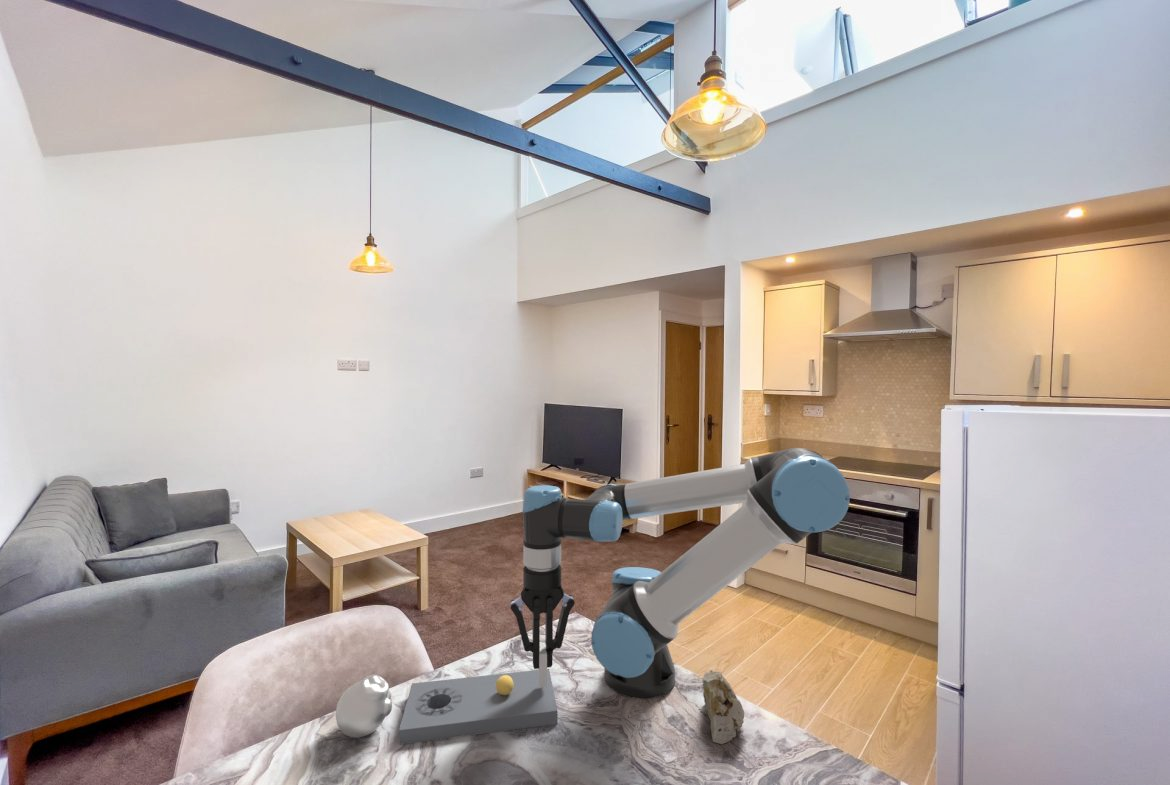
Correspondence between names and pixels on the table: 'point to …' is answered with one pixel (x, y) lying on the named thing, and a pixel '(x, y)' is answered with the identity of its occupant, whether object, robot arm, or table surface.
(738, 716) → the rock
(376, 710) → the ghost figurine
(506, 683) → the ball
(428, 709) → the grey flat block
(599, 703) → the table surface
